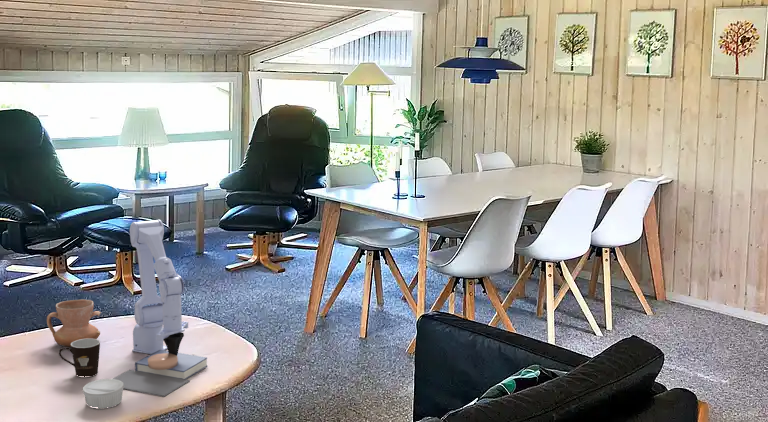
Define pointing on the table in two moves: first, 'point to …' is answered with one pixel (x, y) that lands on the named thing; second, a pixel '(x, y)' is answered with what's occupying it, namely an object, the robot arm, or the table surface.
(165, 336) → the robot arm
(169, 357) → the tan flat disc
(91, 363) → the coffee mug
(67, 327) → the ceramic jug
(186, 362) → the book
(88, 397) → the ramekin
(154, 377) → the placemat
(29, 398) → the table surface
